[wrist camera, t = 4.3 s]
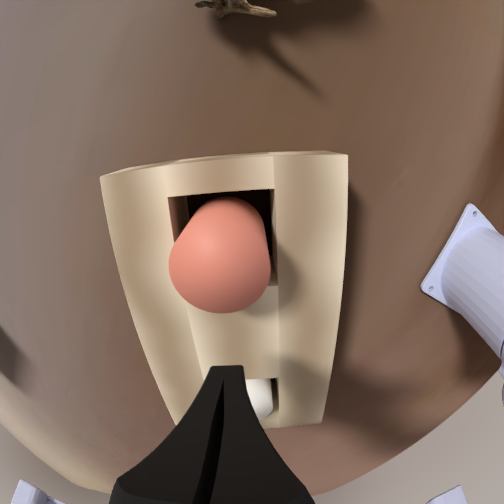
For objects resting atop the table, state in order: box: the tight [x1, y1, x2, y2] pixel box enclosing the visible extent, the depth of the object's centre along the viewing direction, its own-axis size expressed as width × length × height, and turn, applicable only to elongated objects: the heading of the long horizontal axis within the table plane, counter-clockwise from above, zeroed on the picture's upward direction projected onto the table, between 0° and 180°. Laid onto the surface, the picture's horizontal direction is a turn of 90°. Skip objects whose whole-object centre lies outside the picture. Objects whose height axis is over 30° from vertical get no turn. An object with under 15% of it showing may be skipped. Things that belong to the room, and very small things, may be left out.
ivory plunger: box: [246, 378, 273, 420], centre depth 20 cm, size 4×4×4 cm
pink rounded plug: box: [169, 196, 271, 314], centre depth 13 cm, size 4×4×4 cm
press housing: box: [100, 151, 348, 428], centre depth 18 cm, size 12×20×4 cm, turn 4°
